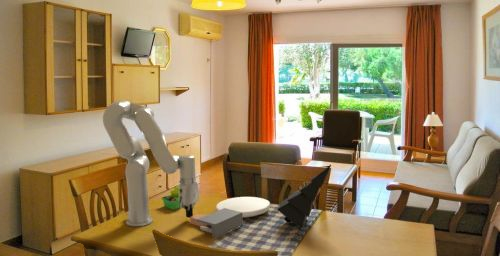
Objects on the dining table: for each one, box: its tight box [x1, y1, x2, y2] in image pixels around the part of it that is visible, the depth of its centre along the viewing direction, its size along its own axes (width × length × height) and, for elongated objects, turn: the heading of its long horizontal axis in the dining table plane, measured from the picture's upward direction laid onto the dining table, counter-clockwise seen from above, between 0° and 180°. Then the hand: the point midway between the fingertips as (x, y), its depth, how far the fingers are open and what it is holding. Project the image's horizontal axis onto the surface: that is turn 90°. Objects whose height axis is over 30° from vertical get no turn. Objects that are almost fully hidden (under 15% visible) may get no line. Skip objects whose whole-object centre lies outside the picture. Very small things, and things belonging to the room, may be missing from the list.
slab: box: [189, 213, 212, 228], centre depth 203 cm, size 12×6×4 cm, turn 48°
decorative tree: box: [276, 164, 332, 229], centre depth 199 cm, size 15×15×35 cm
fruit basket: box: [161, 185, 181, 211], centre depth 230 cm, size 11×9×11 cm
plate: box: [215, 196, 271, 218], centre depth 220 cm, size 28×6×27 cm
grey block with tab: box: [197, 208, 243, 240], centre depth 197 cm, size 13×19×6 cm
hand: (189, 216), depth 209 cm, fingers closed
